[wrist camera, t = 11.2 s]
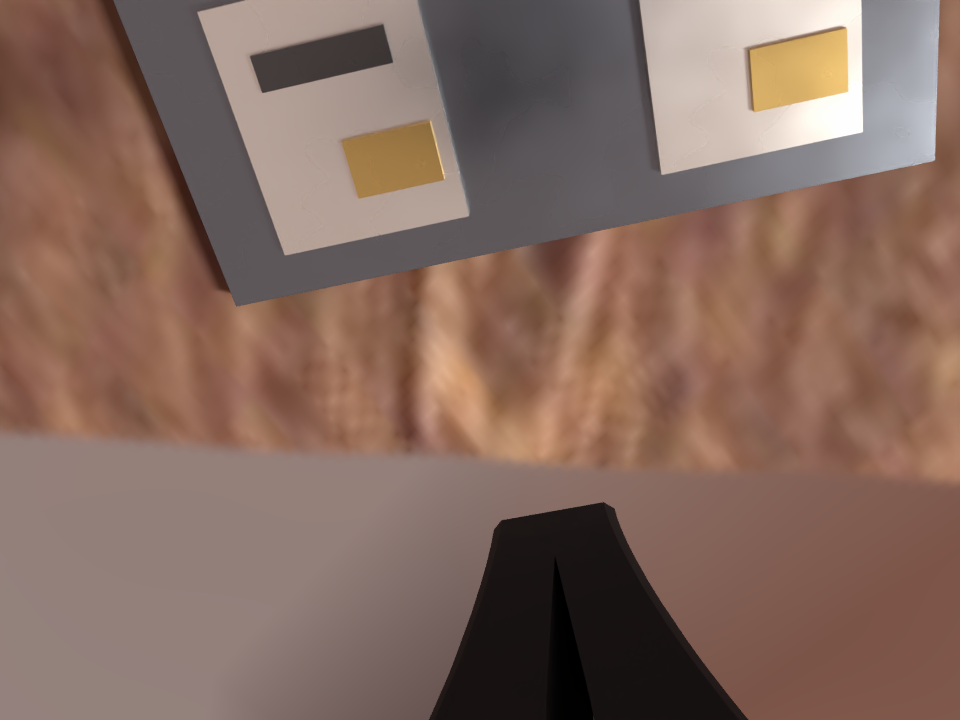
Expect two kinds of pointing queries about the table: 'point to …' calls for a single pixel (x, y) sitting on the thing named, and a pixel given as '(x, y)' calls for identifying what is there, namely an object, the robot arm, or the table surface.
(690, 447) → the table surface
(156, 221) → the table surface
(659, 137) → the label board
